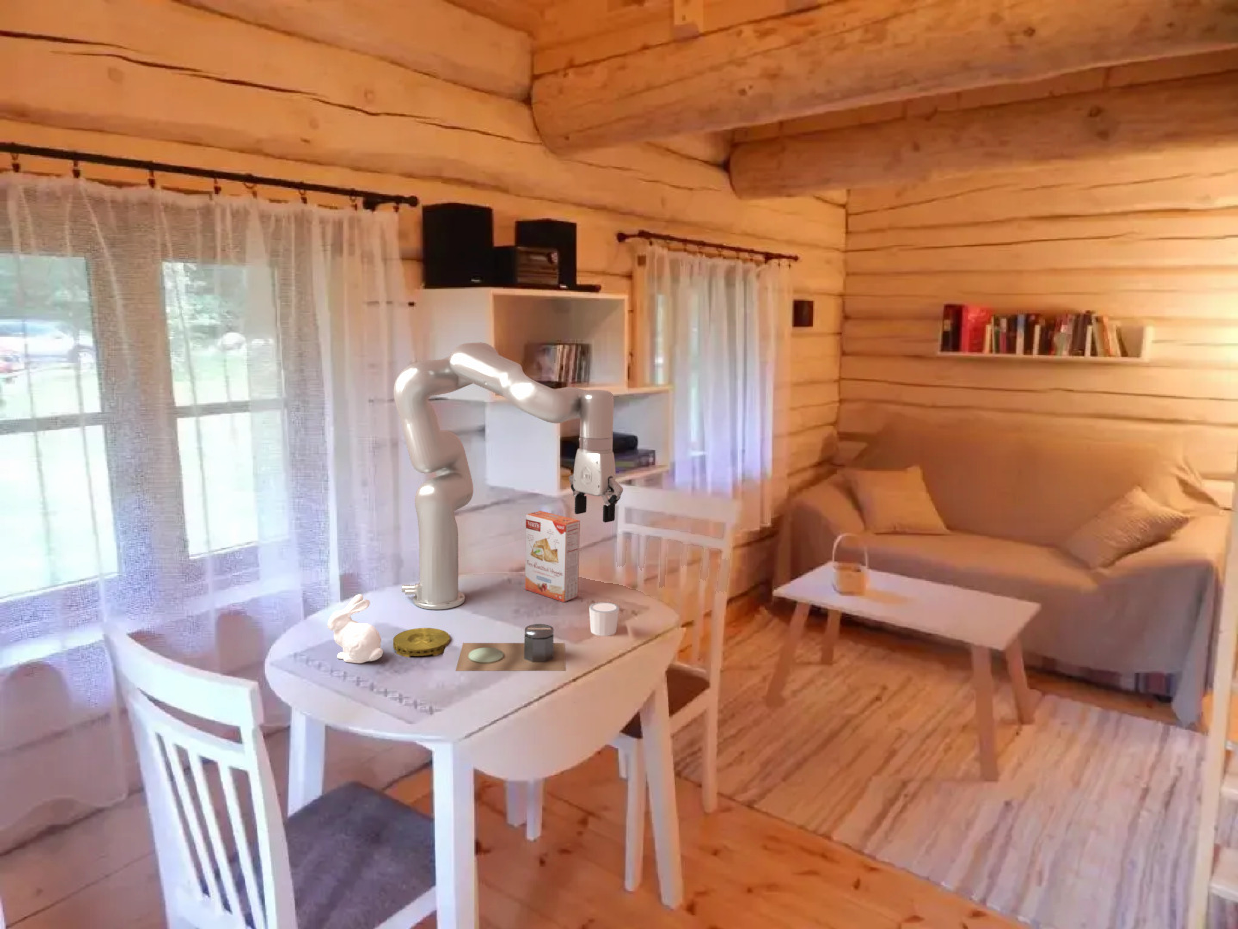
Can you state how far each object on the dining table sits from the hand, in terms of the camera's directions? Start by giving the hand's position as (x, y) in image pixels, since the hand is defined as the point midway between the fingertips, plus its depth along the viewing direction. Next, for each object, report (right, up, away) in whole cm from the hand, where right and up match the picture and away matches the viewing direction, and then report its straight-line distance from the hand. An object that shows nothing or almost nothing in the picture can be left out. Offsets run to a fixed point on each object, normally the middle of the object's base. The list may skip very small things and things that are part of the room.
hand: (594, 517), depth 191 cm
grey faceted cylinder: (-11, -28, -18) cm, 35 cm away
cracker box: (-12, -22, +24) cm, 34 cm away
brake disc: (-37, -28, -12) cm, 48 cm away
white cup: (+2, -27, -3) cm, 27 cm away
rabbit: (-50, -28, -18) cm, 60 cm away
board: (-17, -29, -18) cm, 38 cm away
